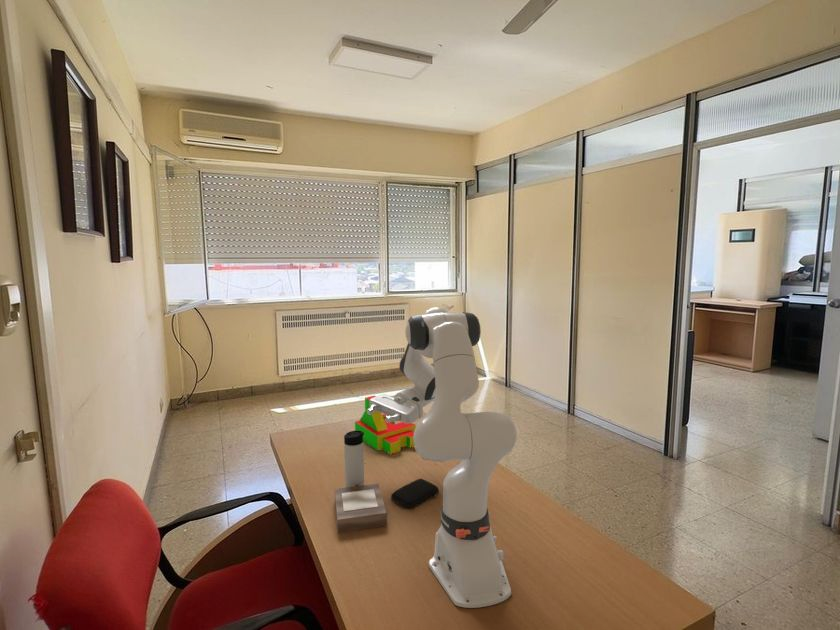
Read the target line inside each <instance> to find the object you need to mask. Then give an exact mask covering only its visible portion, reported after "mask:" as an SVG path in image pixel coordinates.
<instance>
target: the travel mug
mask: <svg viewBox="0 0 840 630" xmlns="http://www.w3.org/2000/svg"><path fill="white" fill-rule="evenodd" d="M363 435H364V432H362V431H358V430H357V431H355V430H351V431H348V432H346V433H345V434H344V437H343V439H344V441H343V444H344V445H343V446H344V449H343V450H344V473H345V474H344V479H345V480H344V482H345V488H346V487H354V486H362V485H365V462H364V461H365V460H364V459H365V458H364V441H363Z"/></svg>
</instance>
